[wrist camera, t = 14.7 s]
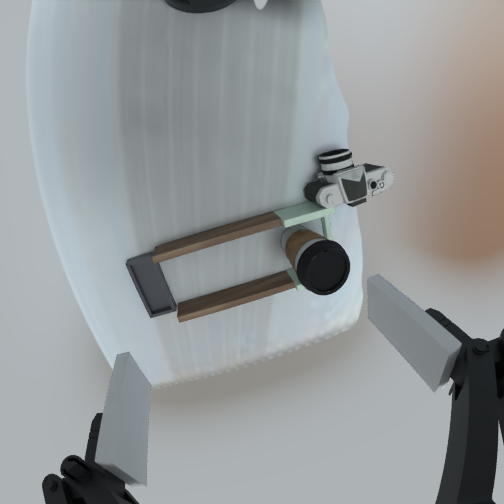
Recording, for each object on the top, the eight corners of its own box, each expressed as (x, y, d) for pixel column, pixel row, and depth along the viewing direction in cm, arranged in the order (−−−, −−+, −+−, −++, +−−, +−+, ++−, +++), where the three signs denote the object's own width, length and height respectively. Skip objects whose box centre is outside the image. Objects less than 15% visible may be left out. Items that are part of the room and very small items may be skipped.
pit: (127, 259, 48) (125, 263, 46) (154, 251, 48) (152, 255, 47) (151, 312, 53) (150, 318, 51) (176, 305, 53) (176, 310, 51)
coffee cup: (311, 212, 52) (351, 237, 38) (319, 252, 55) (357, 286, 41) (269, 226, 51) (297, 257, 37) (280, 266, 54) (308, 307, 41)
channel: (155, 246, 48) (151, 257, 44) (273, 211, 50) (281, 218, 46) (180, 308, 54) (179, 322, 49) (286, 275, 55) (295, 287, 51)
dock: (273, 211, 50) (283, 220, 44) (323, 197, 51) (339, 205, 45) (286, 275, 55) (297, 291, 50) (332, 260, 56) (346, 274, 50)
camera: (365, 140, 49) (397, 142, 39) (374, 181, 52) (406, 190, 43) (293, 161, 48) (316, 166, 39) (306, 206, 51) (330, 219, 42)
